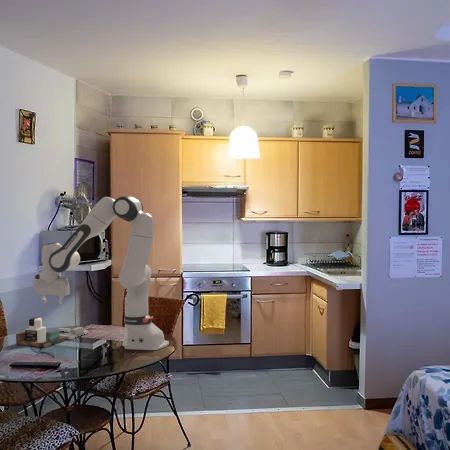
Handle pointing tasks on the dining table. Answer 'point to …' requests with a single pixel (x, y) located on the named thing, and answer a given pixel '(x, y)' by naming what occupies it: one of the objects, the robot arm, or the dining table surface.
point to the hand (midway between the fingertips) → (51, 303)
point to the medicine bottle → (35, 331)
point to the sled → (51, 339)
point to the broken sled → (73, 332)
